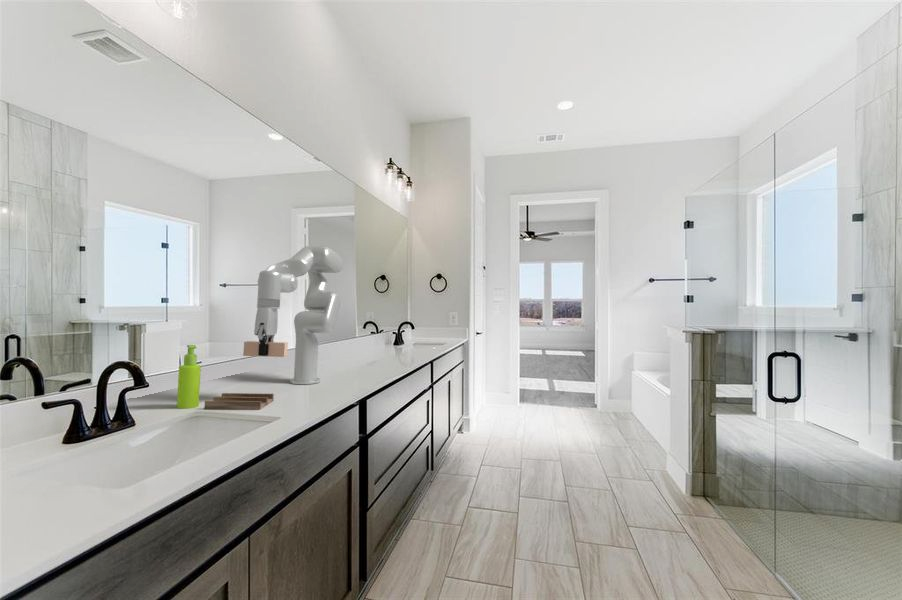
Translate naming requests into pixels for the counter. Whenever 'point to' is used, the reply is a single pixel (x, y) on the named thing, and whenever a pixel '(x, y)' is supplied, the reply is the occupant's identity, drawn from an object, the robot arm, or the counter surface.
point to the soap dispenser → (189, 381)
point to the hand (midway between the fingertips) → (265, 354)
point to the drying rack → (240, 401)
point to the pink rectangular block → (274, 349)
